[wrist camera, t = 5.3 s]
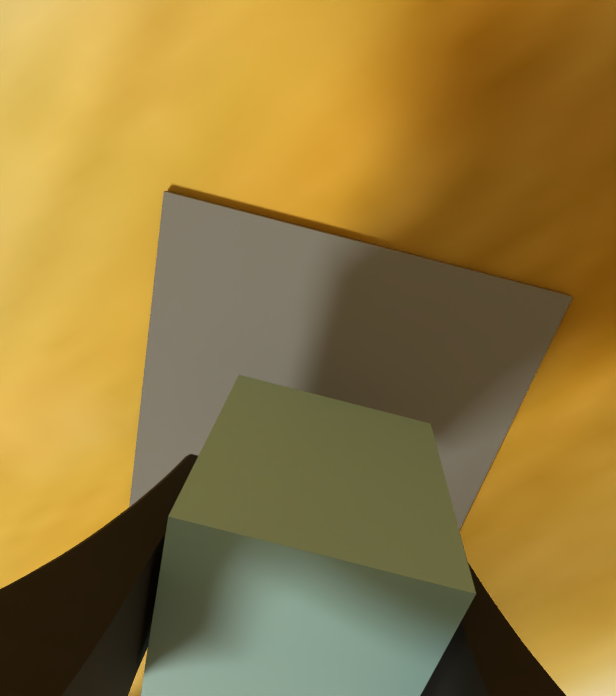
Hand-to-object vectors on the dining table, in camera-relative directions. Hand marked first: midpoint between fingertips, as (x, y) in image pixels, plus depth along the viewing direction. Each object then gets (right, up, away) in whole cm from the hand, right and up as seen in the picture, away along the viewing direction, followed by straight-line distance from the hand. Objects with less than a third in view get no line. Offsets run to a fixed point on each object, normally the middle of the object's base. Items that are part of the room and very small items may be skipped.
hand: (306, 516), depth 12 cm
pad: (0, +2, +4) cm, 5 cm away
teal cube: (0, +1, +1) cm, 1 cm away
